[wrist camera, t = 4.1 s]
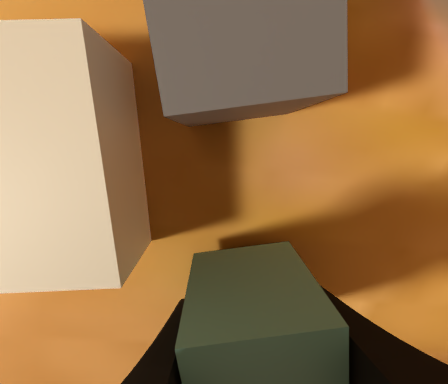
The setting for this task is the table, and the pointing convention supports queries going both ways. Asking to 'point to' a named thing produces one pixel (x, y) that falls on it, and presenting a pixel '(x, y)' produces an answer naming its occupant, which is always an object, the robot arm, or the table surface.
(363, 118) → the table surface
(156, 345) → the robot arm
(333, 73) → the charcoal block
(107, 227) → the cream base block
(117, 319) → the table surface
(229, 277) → the teal block
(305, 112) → the table surface
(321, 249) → the table surface
